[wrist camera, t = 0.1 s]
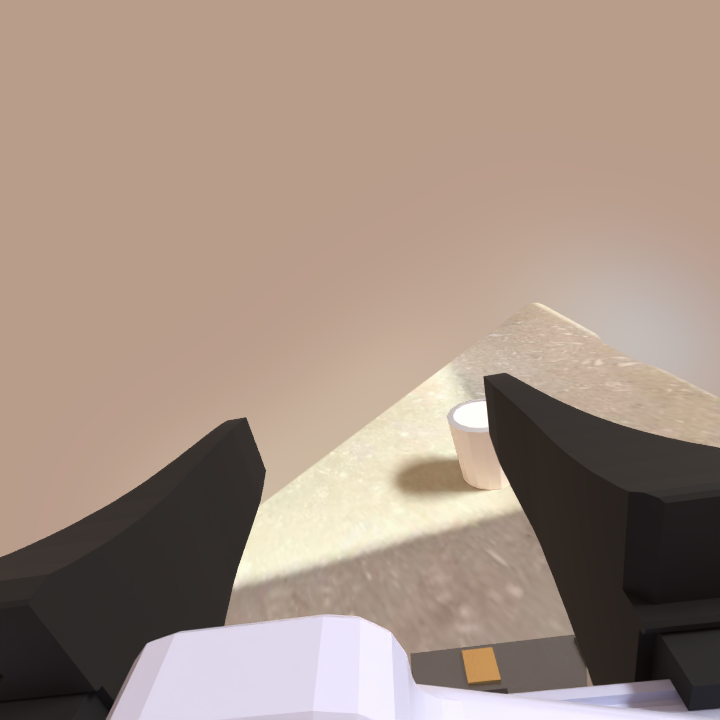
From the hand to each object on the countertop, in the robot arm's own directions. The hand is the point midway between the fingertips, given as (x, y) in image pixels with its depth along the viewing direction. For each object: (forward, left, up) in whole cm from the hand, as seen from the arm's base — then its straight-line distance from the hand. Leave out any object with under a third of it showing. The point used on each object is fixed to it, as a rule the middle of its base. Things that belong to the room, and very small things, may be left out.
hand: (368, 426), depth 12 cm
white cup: (+26, -8, -22) cm, 35 cm away
